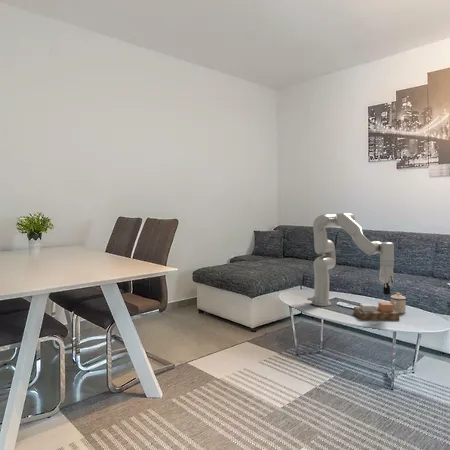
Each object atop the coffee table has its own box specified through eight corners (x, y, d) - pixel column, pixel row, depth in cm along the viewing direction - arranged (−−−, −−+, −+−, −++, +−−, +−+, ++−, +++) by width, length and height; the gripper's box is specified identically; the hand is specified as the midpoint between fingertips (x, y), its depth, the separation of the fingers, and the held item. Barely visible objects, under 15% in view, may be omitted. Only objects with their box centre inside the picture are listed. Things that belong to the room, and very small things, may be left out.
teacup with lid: (392, 308, 246) (392, 290, 245) (407, 311, 240) (408, 292, 239) (386, 312, 237) (386, 294, 236) (402, 315, 231) (402, 296, 230)
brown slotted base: (361, 320, 222) (361, 313, 222) (353, 313, 235) (353, 307, 235) (399, 320, 222) (399, 313, 222) (389, 313, 235) (389, 307, 235)
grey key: (363, 314, 225) (363, 306, 225) (359, 311, 231) (360, 303, 231) (373, 314, 225) (373, 306, 225) (369, 311, 231) (370, 303, 231)
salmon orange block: (382, 313, 225) (382, 304, 225) (378, 310, 231) (378, 302, 231) (392, 313, 225) (392, 304, 225) (388, 310, 231) (388, 302, 231)
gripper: (375, 261, 234) (375, 291, 235) (385, 265, 219) (385, 297, 220) (387, 261, 234) (387, 291, 235) (399, 265, 219) (398, 297, 220)
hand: (386, 294), depth 227 cm, fingers closed
